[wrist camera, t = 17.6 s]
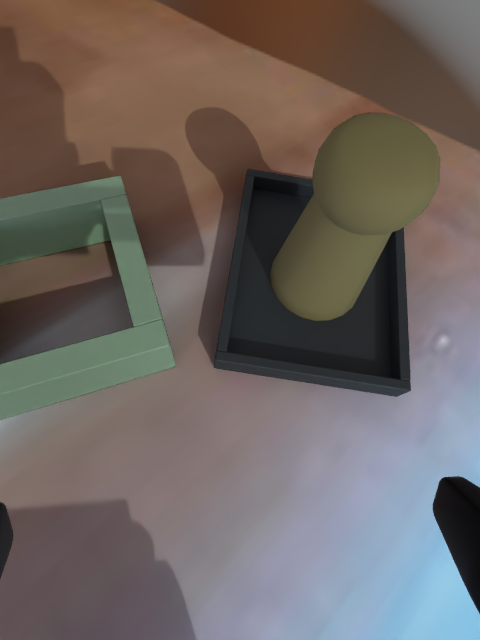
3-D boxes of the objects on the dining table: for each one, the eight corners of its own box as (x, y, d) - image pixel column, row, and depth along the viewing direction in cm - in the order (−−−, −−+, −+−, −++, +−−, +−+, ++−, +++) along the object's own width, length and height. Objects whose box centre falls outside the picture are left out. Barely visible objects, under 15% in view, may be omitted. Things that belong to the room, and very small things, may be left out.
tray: (397, 396, 22) (411, 391, 21) (214, 368, 22) (214, 360, 21) (391, 210, 28) (402, 194, 26) (244, 185, 28) (247, 168, 26)
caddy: (176, 366, 22) (170, 345, 18) (-29, 429, 20) (-83, 419, 16) (132, 217, 26) (120, 174, 22) (-44, 255, 23) (-91, 215, 20)
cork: (260, 247, 25) (297, 94, 15) (342, 234, 26) (429, 83, 16) (284, 328, 23) (346, 214, 13) (373, 311, 24) (496, 193, 14)
